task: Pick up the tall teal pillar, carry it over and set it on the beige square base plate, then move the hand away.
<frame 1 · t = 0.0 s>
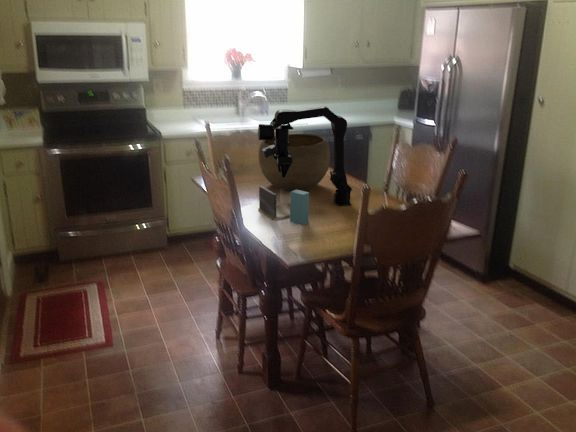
hand: (281, 174, 243), 15 cm above the table, tool pointing down, fingers open, 9 cm apart
brown bowl: (293, 187, 277), on the table
tall teal pillar: (299, 222, 228), on the table
beige square base plate: (278, 214, 238), on the table
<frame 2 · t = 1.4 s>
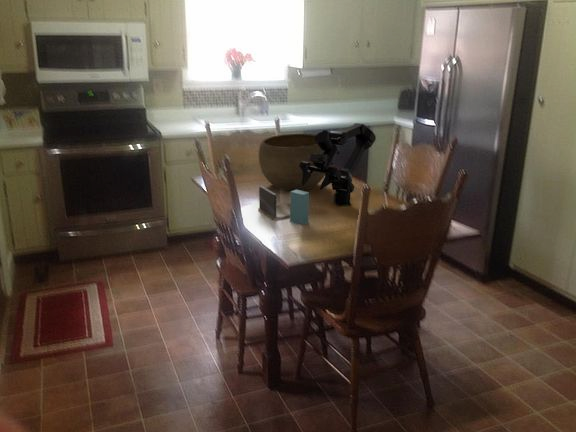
hand: (311, 187, 229), 13 cm above the table, tool tilted 45°, fingers open, 9 cm apart
nothing on the table moved.
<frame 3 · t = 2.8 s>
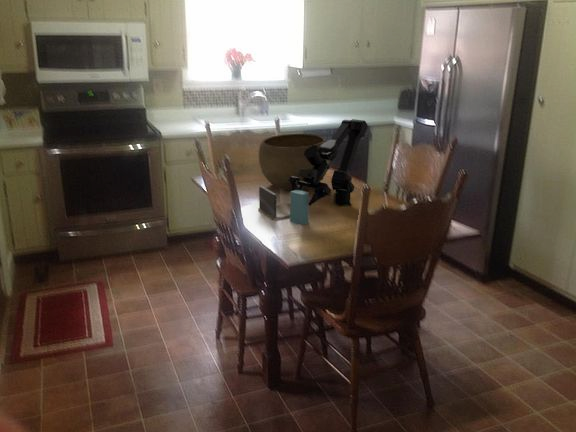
hand: (300, 202, 226), 8 cm above the table, tool tilted 45°, fingers open, 9 cm apart
nothing on the table moved.
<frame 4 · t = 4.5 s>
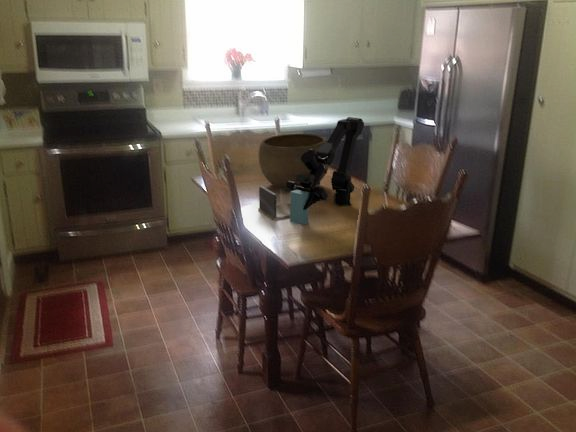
hand: (297, 207, 225), 7 cm above the table, tool tilted 45°, fingers closed on tall teal pillar, 6 cm apart
tall teal pillar: (299, 222, 228), on the table, touching gripper
everything else where it was.
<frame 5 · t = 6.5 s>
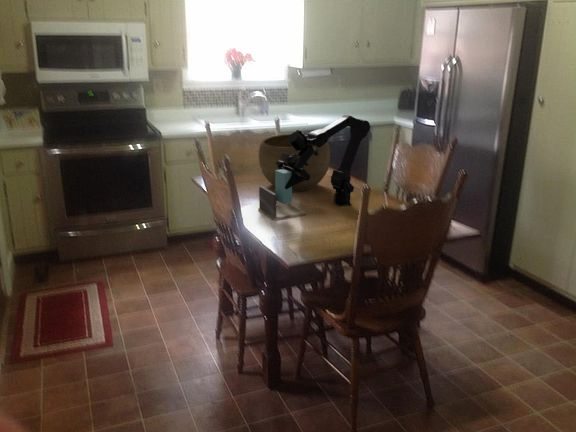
hand: (280, 186, 229), 13 cm above the table, tool tilted 45°, fingers closed on tall teal pillar, 6 cm apart
tall teal pillar: (283, 201, 232), point 7 cm above the table, touching gripper
everything else where it was.
when the fingers open (8 cm above the table, at t = 8.9 s): tall teal pillar stays where it is, resting on beige square base plate.
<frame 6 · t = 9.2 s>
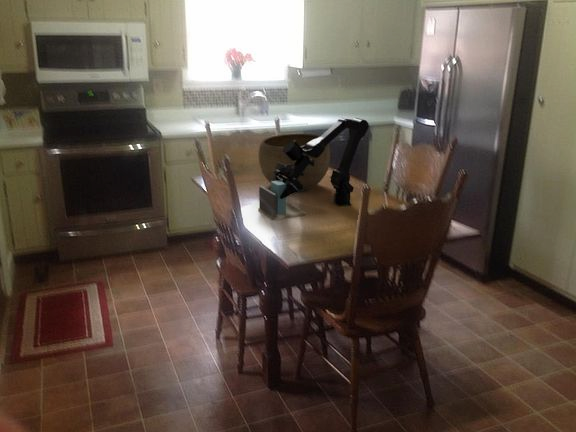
hand: (275, 195, 234), 9 cm above the table, tool tilted 45°, fingers open, 9 cm apart
tall teal pillar: (278, 211, 237), point 1 cm above the table, touching beige square base plate
everything else where it was.
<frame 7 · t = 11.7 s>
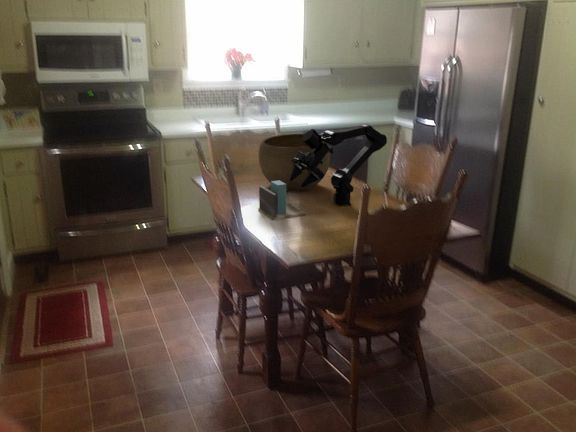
hand: (295, 183, 237), 12 cm above the table, tool tilted 45°, fingers open, 9 cm apart
nothing on the table moved.
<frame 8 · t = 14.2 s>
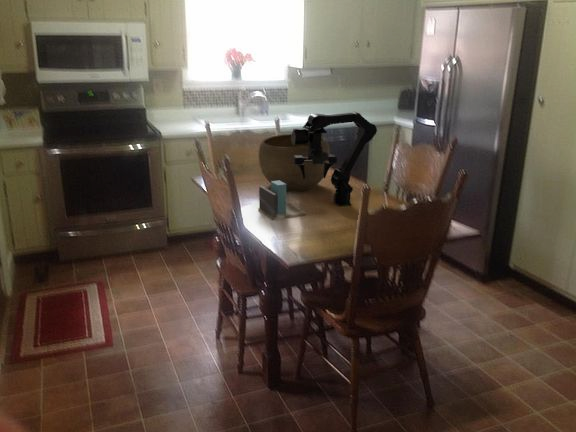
hand: (314, 178, 244), 13 cm above the table, tool pointing down, fingers open, 9 cm apart
nothing on the table moved.
at the end: tall teal pillar 0.2 cm off-centre on the beige square base plate, point 1.0 cm above the beige square base plate's base; tall teal pillar tilted 0°; the gripper is holding nothing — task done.
